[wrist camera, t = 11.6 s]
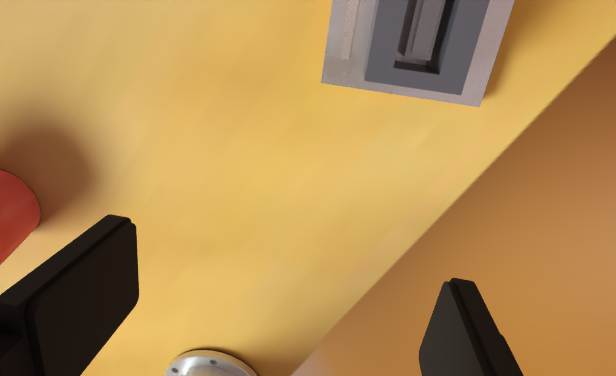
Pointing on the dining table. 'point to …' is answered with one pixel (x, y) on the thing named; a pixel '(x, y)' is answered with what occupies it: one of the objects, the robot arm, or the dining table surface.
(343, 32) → the post
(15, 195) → the flower pot
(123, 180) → the dining table surface
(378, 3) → the gray rectangular sleeve
